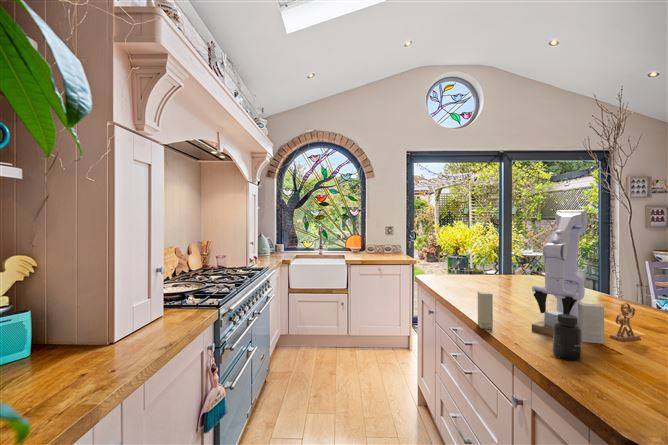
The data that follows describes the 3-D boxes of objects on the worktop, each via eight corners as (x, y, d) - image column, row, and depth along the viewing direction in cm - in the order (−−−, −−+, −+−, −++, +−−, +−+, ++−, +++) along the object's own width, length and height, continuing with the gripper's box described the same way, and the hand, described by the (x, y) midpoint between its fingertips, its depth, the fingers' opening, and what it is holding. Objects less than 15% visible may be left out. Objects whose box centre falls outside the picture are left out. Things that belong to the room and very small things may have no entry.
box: (493, 329, 121) (493, 294, 121) (480, 328, 122) (480, 293, 122) (489, 325, 127) (489, 291, 126) (477, 324, 127) (477, 290, 127)
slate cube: (550, 322, 122) (551, 310, 122) (564, 326, 118) (564, 313, 118) (544, 324, 120) (544, 312, 120) (557, 328, 116) (558, 315, 116)
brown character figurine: (621, 341, 110) (622, 305, 110) (609, 337, 114) (609, 302, 114) (641, 339, 113) (641, 303, 112) (628, 335, 116) (628, 300, 116)
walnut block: (546, 327, 126) (546, 319, 125) (576, 335, 117) (576, 327, 117) (531, 332, 120) (531, 323, 120) (561, 341, 112) (562, 332, 112)
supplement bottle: (582, 363, 93) (583, 321, 93) (553, 358, 97) (553, 317, 97) (580, 355, 99) (580, 314, 99) (552, 350, 103) (553, 311, 102)
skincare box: (598, 339, 112) (599, 304, 112) (604, 344, 108) (604, 307, 107) (577, 337, 114) (577, 302, 113) (582, 342, 110) (582, 305, 109)
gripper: (527, 275, 123) (527, 311, 123) (571, 281, 110) (571, 322, 110) (538, 273, 126) (537, 309, 126) (582, 279, 114) (581, 319, 114)
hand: (554, 315), depth 119 cm, fingers open, 7 cm apart
